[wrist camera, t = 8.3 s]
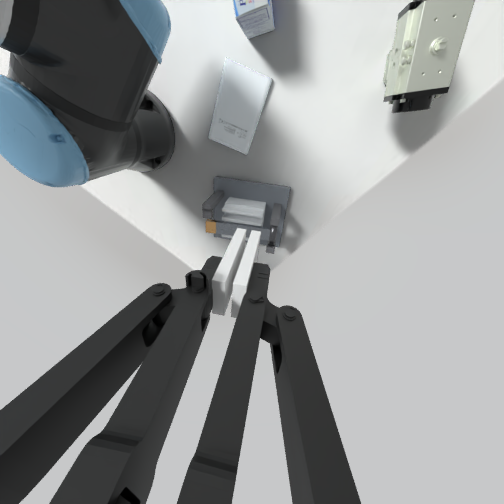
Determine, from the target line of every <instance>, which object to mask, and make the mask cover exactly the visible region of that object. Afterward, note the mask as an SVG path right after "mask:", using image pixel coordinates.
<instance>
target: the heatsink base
mask: <svg viewBox="0 0 504 504" xmlns="http://www.w3.org/2000/svg"><path fill="white" fill-rule="evenodd" d="M289 193H290V187H288V186H280V185H273V184H266V183H259V182H252V181H244V180H237V179H230V178H223V177H215V178H214V194H213V195H212V196H211V197H210V198H209V199H208V200H207V201H205V202H204V203H203V204H202V206H203V217H204V218H210V219H211V218H212V217H213V209H214V220H217V221H224V222H231V223H239V224H246V225H254V226H261V227H269V228H270V225H273V226H278V229H277V234H276V240H275V245H274V246H269V245H268V240H260V243H259V244H262V245H267V247H266V252H267V253H273V254H274V249H275V247H279V245H280V240H281V235H282V229H283V224H284V219H285V214H286V209H287V203H288V198H289ZM214 237H219V238H225V239H232V238H233V236H231V235H224V234H216V233H214ZM248 239H249V238H246V240H245V242H248Z"/></svg>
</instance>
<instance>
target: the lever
mask: <svg viewBox="0 0 504 504" xmlns="http://www.w3.org/2000/svg"><path fill="white" fill-rule="evenodd" d="M237 228H241V229H246V238H249V237H250V234H251V231H252V230H253V231H260V232H261V236H260V240H268V245H269V246H274V245H275V240H276V234H277V229H278V226H273V225H270V228H269V227H261V226H254V225H246V224H239V223H231V222H224V221H217V220H210V219H207V220H206V232H208V233H216V234H224V235H231V236H234V234H235V232H236V229H237Z"/></svg>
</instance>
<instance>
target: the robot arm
mask: <svg viewBox="0 0 504 504" xmlns="http://www.w3.org/2000/svg"><path fill="white" fill-rule="evenodd" d="M170 31H171V22H170V17H169V14H168V11H167V9H166V7H165V6H164V4H163V3H162V1H161V0H0V47H1V48H3V49H6V50H8V51H10V52H11V53H10V63H9V72H8V75H7V76H4V75H0V154H1V155H2V156H3V157H4V158H5V159H6V160H7V161H8V162H9V163H10V164H11V165H13V166H14V167H15V168H16V169H17V170H19V171H20V172H21V173H23V174H24V175H26V176H27V177H29V178H31V179H32V180H34V181H37V182H39V183H41V184H44V185H47V186H51V187H68V186H73V185H82V184H84V183H86V182H87V181H90V180H93V179H96V178H99V177H103V176H106V175H109V174H112V173H115V172H118V171H121V170H124V169H128V170H134V171H140V172H148V171H153V170H155V169H158V168H160V167H162V166H164V165H165V164H166V163H167V162H168V161H169V159H170V158H171V156H172V153H173V150H174V145H175V135H174V128H173V124H172V121H171V119H170V116H169V114H168V112H167V110H166V109H165V107H164V106H163V104H162V103H161V102H160V100H159V99H158V98H157V97H156V96H155V95H154V94H153V93H151V92H150V91H149V90H147V89H148V86H149V84H150V82H151V79H152V77H153V75H154V73H155V70H156V68H157V66H158V63H159V64H161V62H162V58H161V56H162V54H163V51H164V48H165V46H166V43H167V40H168V38H169V35H170ZM260 236H261V232H260V231H253V230H252V231H251V234H250V237H249V239H248V242H247V245H246V248H245V240H246V229H241V228H237V229H236V232H235V234H234V236H233V238H232V240H231V242H230V244H229V246H228V248H227V250H226V252H225V254H224V256H223V258H222V257H216V256H212V257H210V258H209V259H207V261H206V263H205V265H204V266H203V268H202V270H195V271H191V272H189V273H188V274H187V275H186V276H185V277H186V286H187V287H186V288H184V289H174V290H173V289H172V290H171V287H170V286H169V285H168V284H164V283H159V284H155V285H152V286H151V287H150V288H148V289H147V290H146V291H145V292H143V293H142V294H141V295H140V296H138V297H137V298H136V299H135V300H133V301H132V302H131V303H130V304H129V305H128V306H126V307H125V308H124V309H123V310H121V311H120V312H119V313H118V314H117V315H115V316H114V317H113V318H112V319H110V320H109V321H108V322H107V323H106V324H104V325H103V326H102V327H101V328H100V329H98V330H97V331H96V332H95V333H94V334H92V335H91V336H90V337H89V338H87V339H86V340H85V341H84V342H83V343H81V344H80V345H79V346H78V347H77V348H75V349H74V350H73V351H72V352H70V353H69V354H68V355H67V356H66V357H64V358H63V359H62V360H61V361H60V362H58V363H57V364H56V365H55V366H53V367H52V368H51V369H50V370H49V371H47V372H46V373H45V374H44V375H43V376H41V377H40V378H39V379H38V380H37V381H35V382H34V383H33V384H32V385H30V386H29V387H28V388H27V389H26V390H24V391H23V392H22V393H21V394H20V395H18V396H17V397H16V398H15V399H14V400H12V401H11V402H10V403H9V404H8V405H6V406H5V407H4V408H3V409H1V410H0V504H19V503H20V502H21V501H22V500H23V499H24V498H25V497H26V496H27V495H28V493H29V492H30V491H31V490H32V489H33V488H34V487H35V486H36V485H37V484H38V483H39V482H40V481H41V479H42V478H43V477H44V476H45V475H46V474H47V473H48V472H49V470H50V469H51V468H52V467H53V466H54V464H55V463H56V462H57V461H58V460H59V459H60V458H61V456H62V455H63V454H64V453H65V452H66V450H67V449H68V448H69V447H70V446H71V445H72V444H73V442H74V441H75V440H76V439H77V438H78V436H79V435H80V434H81V433H82V432H83V431H84V430H85V428H86V427H87V426H88V425H89V424H90V423H91V422H92V420H93V419H94V418H95V417H96V416H97V415H98V413H99V412H100V411H101V410H102V409H103V408H104V406H105V405H106V404H107V403H108V402H109V401H110V399H111V398H112V397H113V396H114V395H115V394H116V392H117V391H118V390H119V389H120V388H121V387H122V386H123V384H124V383H125V382H126V381H127V380H128V379H129V377H130V376H131V375H132V374H133V373H134V371H135V370H136V369H137V368H138V367H139V366H140V365H141V363H142V362H143V363H142V365H141V366H140V368H139V370H138V371H137V373H136V375H135V377H134V379H133V380H132V382H131V384H130V385H129V387H128V389H127V390H126V392H125V394H124V396H123V397H122V399H121V401H120V403H119V405H118V406H117V408H116V409H115V411H114V413H113V415H112V416H111V418H110V420H109V422H108V423H107V425H106V426H105V428H104V429H103V431H102V432H101V433H99V434H98V435H96V436H94V437H93V438H92V439H91V440H90V441H89V442H88V443H87V444H86V445H85V447H84V448H83V450H82V451H81V453H80V454H79V456H78V457H77V459H76V461H75V462H74V464H73V466H72V467H71V469H70V471H69V472H68V474H67V475H66V477H65V479H64V480H63V482H62V484H61V485H60V487H59V489H58V491H57V492H56V494H55V495H54V497H53V498H52V500H51V502H50V504H146V501H147V498H148V496H149V493H150V490H151V487H152V483H153V480H154V475H155V469H156V464H157V461H158V458H159V455H160V453H161V450H162V447H163V444H164V442H165V439H166V437H167V434H168V431H169V428H170V426H171V423H172V420H173V418H174V415H175V412H176V409H177V407H178V404H179V401H180V399H181V396H182V393H183V391H184V388H185V385H186V383H187V380H188V377H189V374H190V372H191V369H192V366H193V364H194V361H195V358H196V356H197V353H198V350H199V347H200V345H201V342H202V339H203V337H204V334H205V331H206V329H207V326H208V323H209V320H210V312H211V310H212V313H213V314H219V315H225V311H226V309H227V306H228V303H229V300H230V297H231V294H232V309H231V317H234V318H237V319H236V322H235V325H234V329H233V332H232V336H231V339H230V342H229V345H228V348H227V352H226V356H225V359H224V362H223V365H222V368H221V371H220V375H219V378H218V381H217V384H216V388H215V391H214V394H213V398H212V401H211V404H210V407H209V411H208V414H207V417H206V421H205V424H204V427H203V430H202V434H201V437H200V440H199V443H198V447H197V450H196V453H195V455H194V457H193V458H192V460H191V462H190V465H189V467H188V470H187V473H186V476H185V479H184V482H183V486H182V489H181V492H180V495H179V498H178V501H177V504H232V497H233V492H234V486H235V481H236V475H237V467H238V462H239V456H240V450H241V445H242V439H243V433H244V427H245V421H246V415H247V410H248V403H249V398H250V393H251V387H252V381H253V375H254V369H255V364H256V358H257V352H258V346H259V340H260V338H261V339H263V340H265V341H267V342H268V343H270V347H271V353H272V361H273V368H274V375H275V382H276V389H277V396H278V403H279V410H280V417H281V424H282V432H283V438H284V446H285V452H286V460H287V467H288V473H289V481H290V487H291V495H292V502H293V504H361V502H360V499H359V495H358V492H357V489H356V486H355V483H354V479H353V476H352V473H351V470H350V467H349V464H348V461H347V458H346V454H345V451H344V448H343V445H342V442H341V438H340V435H339V432H338V429H337V426H336V422H335V419H334V416H333V413H332V410H331V407H330V403H329V400H328V398H327V394H326V391H325V388H324V385H323V381H322V378H321V375H320V372H319V369H318V365H317V363H316V359H315V356H314V353H313V350H312V346H311V343H310V340H309V337H308V334H307V331H306V328H305V324H304V321H303V318H302V315H301V313H300V311H298V310H297V309H296V308H294V307H292V306H282V307H280V308H278V307H276V306H274V305H273V304H271V303H270V302H269V300H268V298H267V290H268V283H269V275H270V268H269V266H268V265H267V264H261V263H257V259H258V251H259V243H260ZM232 291H233V292H232Z"/></svg>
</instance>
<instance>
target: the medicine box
mask: <svg viewBox="0 0 504 504" xmlns="http://www.w3.org/2000/svg"><path fill="white" fill-rule="evenodd" d="M233 4H234V10H235V18H236V20H237V22H238V24H239V25H240V27H241V29H242V30H243V32H244V34H245V35H246V37H247V38H248V39H249V38H252V37H255V36H258V35H261V34H264V33H267V32H270V31H273V30H274V29H275V27H274V17H273V7H272V0H233Z"/></svg>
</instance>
